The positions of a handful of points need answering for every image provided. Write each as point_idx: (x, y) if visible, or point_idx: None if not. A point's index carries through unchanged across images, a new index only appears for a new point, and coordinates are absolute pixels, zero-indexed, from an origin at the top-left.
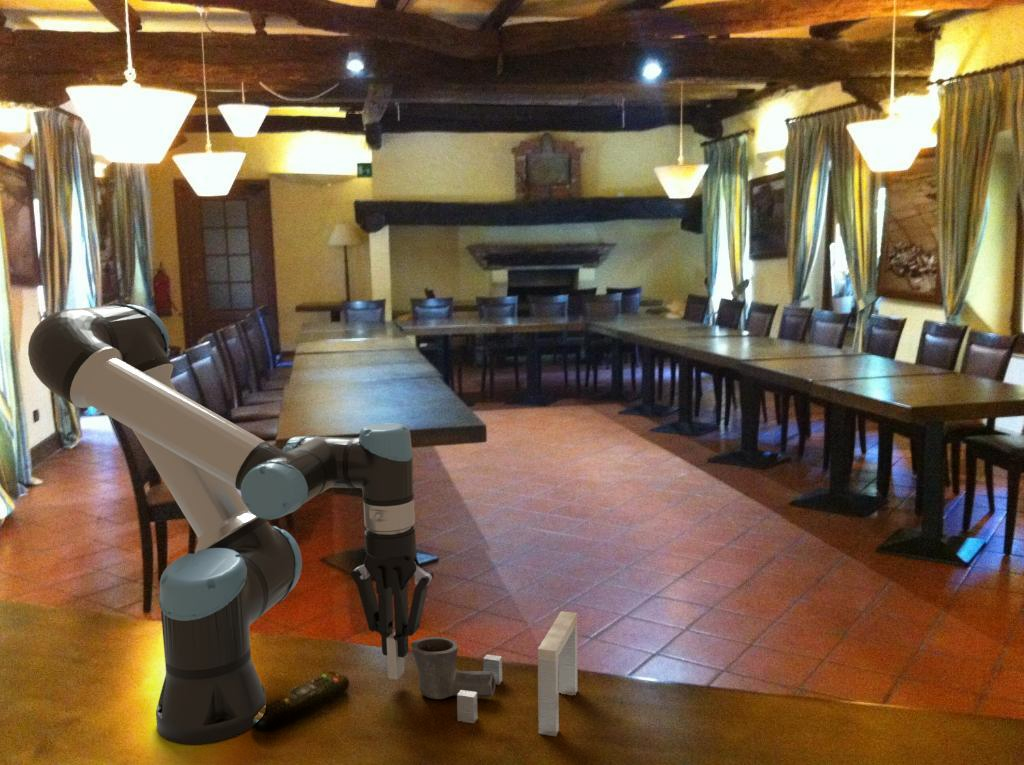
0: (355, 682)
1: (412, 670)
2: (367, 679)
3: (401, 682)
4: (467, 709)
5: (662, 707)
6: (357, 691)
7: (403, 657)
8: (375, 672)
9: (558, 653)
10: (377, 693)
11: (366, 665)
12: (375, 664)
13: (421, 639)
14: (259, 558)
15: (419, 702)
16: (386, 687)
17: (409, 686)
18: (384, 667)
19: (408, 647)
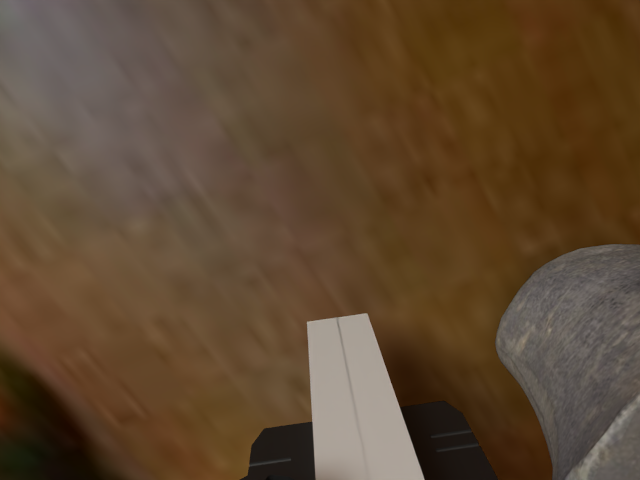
0: (90, 380)
1: (311, 126)
2: (130, 327)
3: (329, 278)
4: None
5: None
6: (165, 450)
7: (380, 357)
8: (118, 239)
9: None
10: (275, 425)
11: (7, 186)
12: (50, 152)
13: (637, 438)
14: None
15: (524, 411)
16: (283, 357)
17: (395, 298)
18: (128, 163)
19: (470, 428)
